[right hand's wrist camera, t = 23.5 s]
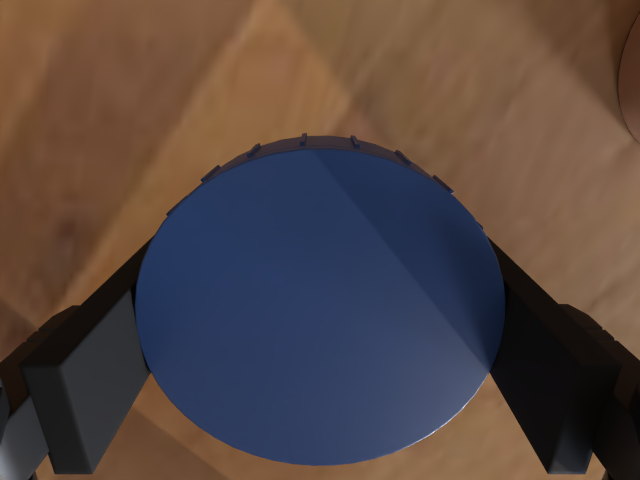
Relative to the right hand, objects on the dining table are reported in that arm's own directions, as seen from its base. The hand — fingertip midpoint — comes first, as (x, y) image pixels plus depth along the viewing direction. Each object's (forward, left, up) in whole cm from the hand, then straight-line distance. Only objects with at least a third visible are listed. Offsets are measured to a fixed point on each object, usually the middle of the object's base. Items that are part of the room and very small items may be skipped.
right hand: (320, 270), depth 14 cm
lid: (0, 0, +3) cm, 3 cm away
